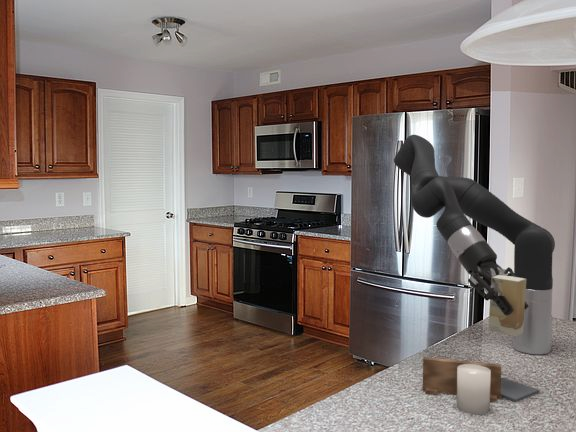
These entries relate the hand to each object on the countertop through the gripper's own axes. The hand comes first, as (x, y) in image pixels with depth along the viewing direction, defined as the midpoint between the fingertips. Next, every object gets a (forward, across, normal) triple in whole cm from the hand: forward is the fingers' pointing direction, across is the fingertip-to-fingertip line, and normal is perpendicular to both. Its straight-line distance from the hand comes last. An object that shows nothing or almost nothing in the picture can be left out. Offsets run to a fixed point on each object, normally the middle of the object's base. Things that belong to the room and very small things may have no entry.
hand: (517, 311), depth 117 cm
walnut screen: (+8, +10, -17) cm, 22 cm away
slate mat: (+12, 0, -14) cm, 18 cm away
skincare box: (+2, 0, -6) cm, 6 cm away
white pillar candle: (+12, +14, -13) cm, 23 cm away
